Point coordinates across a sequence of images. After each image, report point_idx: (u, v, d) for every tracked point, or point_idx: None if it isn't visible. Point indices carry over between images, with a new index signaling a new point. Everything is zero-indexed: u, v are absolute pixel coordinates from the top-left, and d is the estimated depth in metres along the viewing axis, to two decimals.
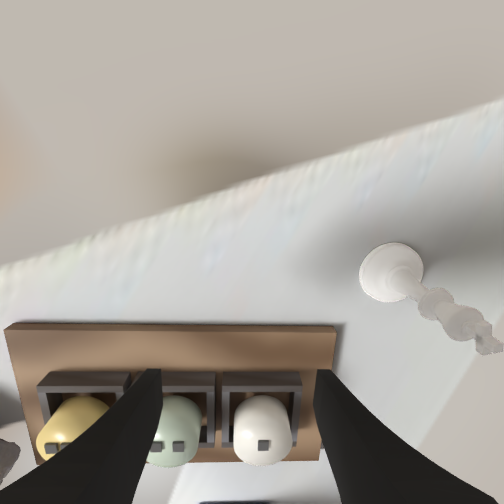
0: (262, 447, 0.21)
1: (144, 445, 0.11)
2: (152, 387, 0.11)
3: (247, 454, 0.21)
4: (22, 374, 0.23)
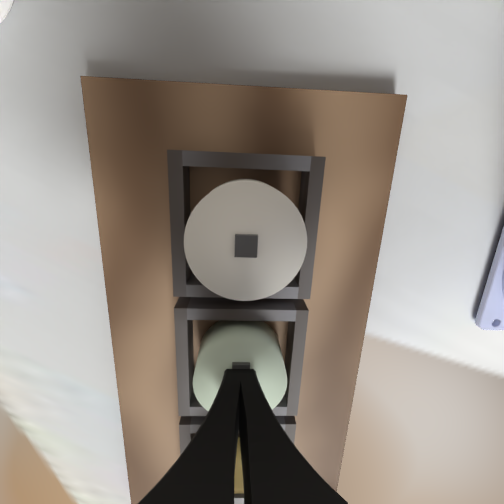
0: (248, 248, 0.10)
1: (236, 444, 0.11)
2: (240, 387, 0.11)
3: (271, 275, 0.10)
4: None
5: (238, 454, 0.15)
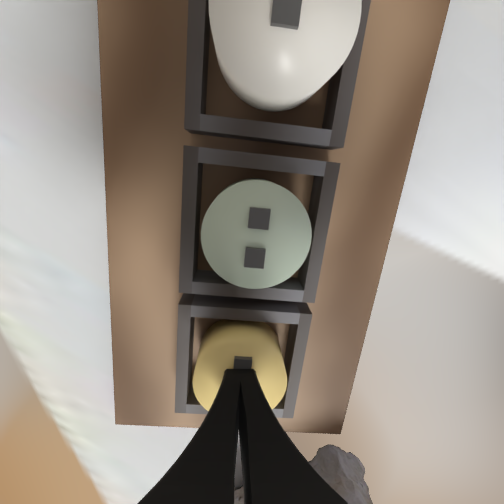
0: (289, 10, 0.08)
1: (236, 444, 0.11)
2: (240, 387, 0.11)
3: (313, 61, 0.08)
4: (184, 419, 0.17)
5: (245, 326, 0.14)
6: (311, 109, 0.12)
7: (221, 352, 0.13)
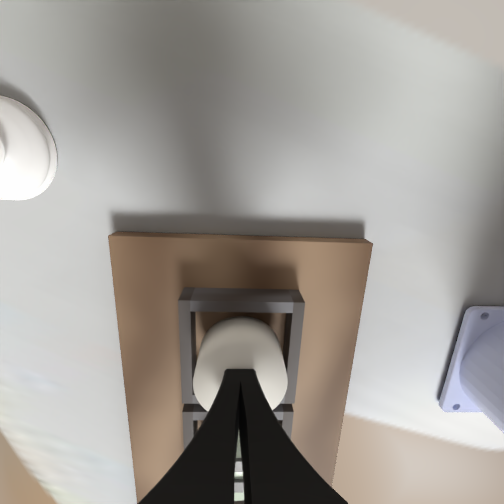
0: None
1: (236, 444, 0.11)
2: (240, 387, 0.11)
3: None
4: None
5: None
6: None
7: None
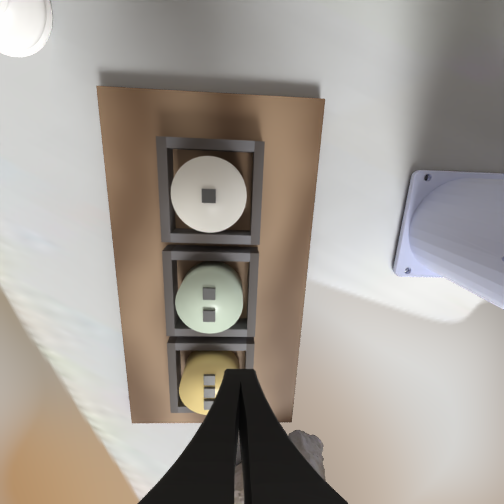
0: (210, 197, 0.16)
1: (236, 444, 0.11)
2: (240, 387, 0.11)
3: (225, 215, 0.17)
4: (179, 417, 0.24)
5: (211, 353, 0.21)
6: (242, 216, 0.20)
7: (195, 372, 0.20)
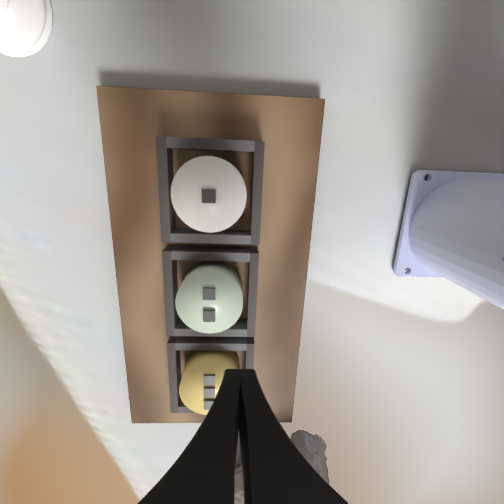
0: (210, 197, 0.16)
1: (236, 444, 0.11)
2: (240, 387, 0.11)
3: (225, 215, 0.17)
4: (179, 417, 0.24)
5: (211, 353, 0.21)
6: (242, 216, 0.20)
7: (195, 372, 0.20)
